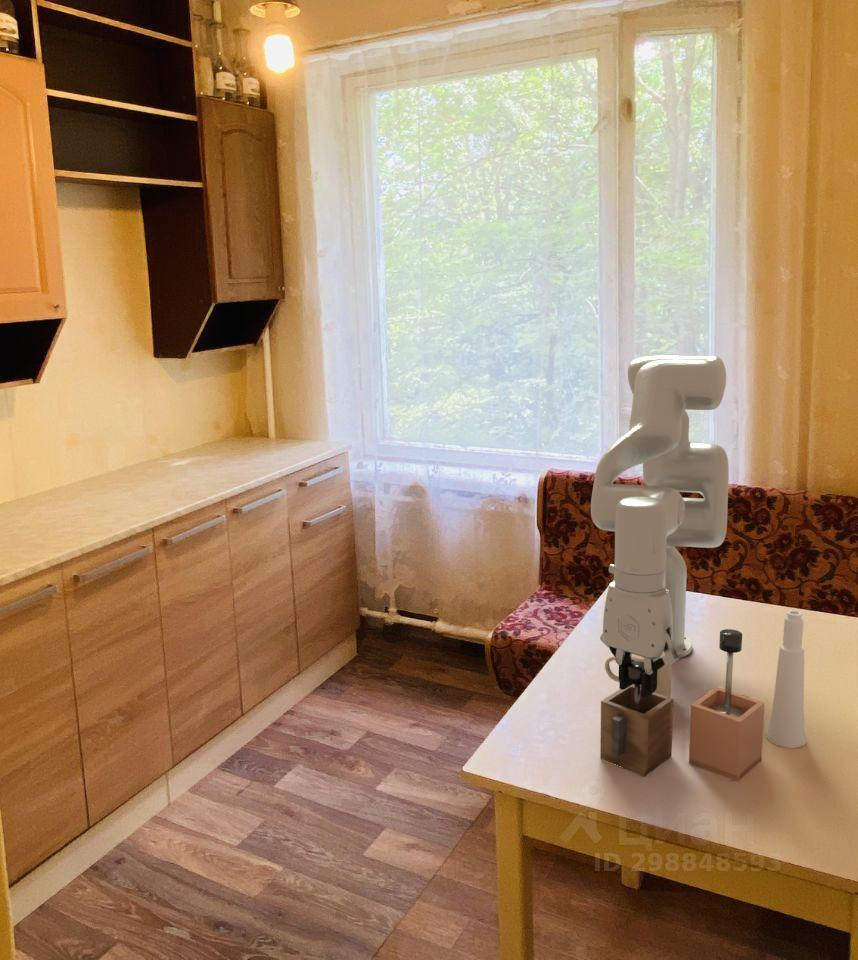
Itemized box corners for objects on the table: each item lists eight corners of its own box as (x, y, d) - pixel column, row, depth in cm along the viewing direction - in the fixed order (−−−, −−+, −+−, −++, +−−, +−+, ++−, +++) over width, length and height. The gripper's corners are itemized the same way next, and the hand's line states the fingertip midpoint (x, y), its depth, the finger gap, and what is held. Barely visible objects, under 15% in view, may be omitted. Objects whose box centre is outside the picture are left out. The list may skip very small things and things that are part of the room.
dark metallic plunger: (611, 747, 139) (612, 666, 136) (630, 734, 143) (632, 654, 140) (642, 760, 135) (643, 677, 132) (661, 746, 139) (663, 664, 136)
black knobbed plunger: (701, 718, 136) (704, 634, 133) (718, 705, 140) (722, 623, 136) (735, 730, 132) (740, 644, 129) (752, 717, 136) (757, 632, 132)
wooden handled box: (671, 756, 140) (673, 698, 137) (637, 782, 133) (638, 722, 131) (628, 739, 145) (629, 683, 143) (593, 763, 138) (593, 705, 136)
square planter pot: (688, 763, 138) (690, 704, 135) (719, 738, 144) (722, 682, 142) (737, 782, 132) (740, 722, 130) (767, 755, 139) (770, 698, 136)
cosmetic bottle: (807, 733, 145) (816, 608, 140) (804, 751, 140) (814, 622, 135) (768, 726, 147) (775, 603, 142) (764, 744, 142) (772, 616, 137)
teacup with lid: (675, 690, 161) (677, 630, 159) (667, 712, 153) (669, 650, 151) (609, 680, 166) (610, 622, 163) (599, 702, 158) (600, 641, 155)
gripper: (580, 573, 136) (579, 682, 140) (675, 598, 125) (672, 716, 129) (607, 561, 141) (606, 667, 145) (702, 584, 130) (697, 698, 134)
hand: (637, 689), depth 137 cm, fingers closed on dark metallic plunger, 3 cm apart
